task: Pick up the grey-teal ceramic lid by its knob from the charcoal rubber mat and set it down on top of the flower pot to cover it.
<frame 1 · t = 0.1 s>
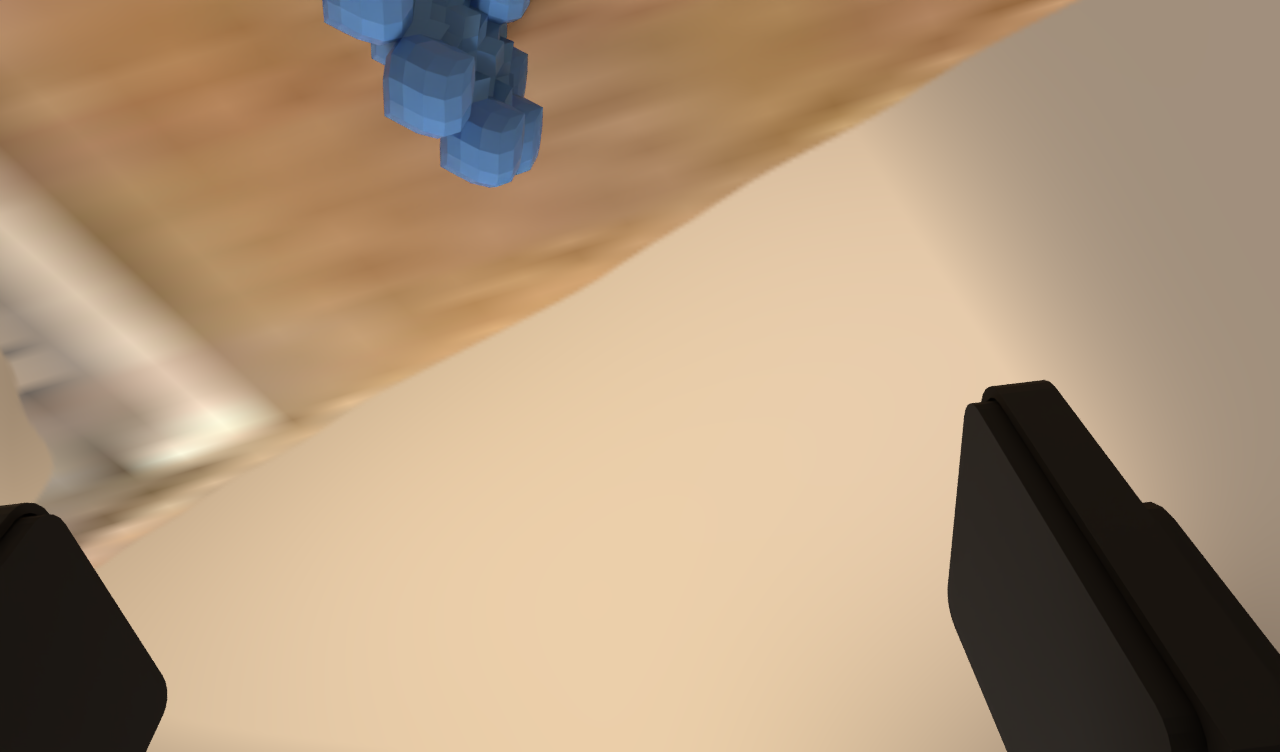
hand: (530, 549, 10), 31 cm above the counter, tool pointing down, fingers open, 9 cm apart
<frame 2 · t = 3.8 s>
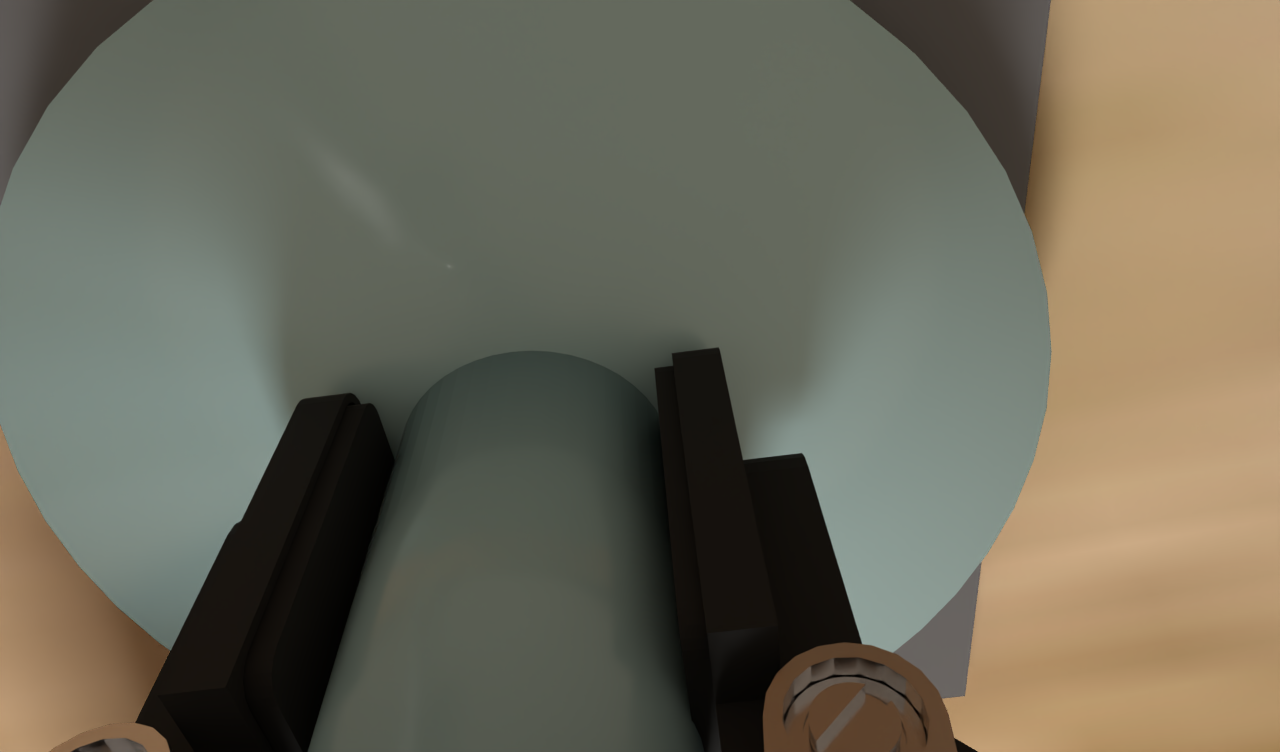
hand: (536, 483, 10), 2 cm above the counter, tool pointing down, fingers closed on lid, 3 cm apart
lid: (542, 406, 12), point 1 cm above the counter, touching gripper, mat
mat: (544, 385, 12), on the counter
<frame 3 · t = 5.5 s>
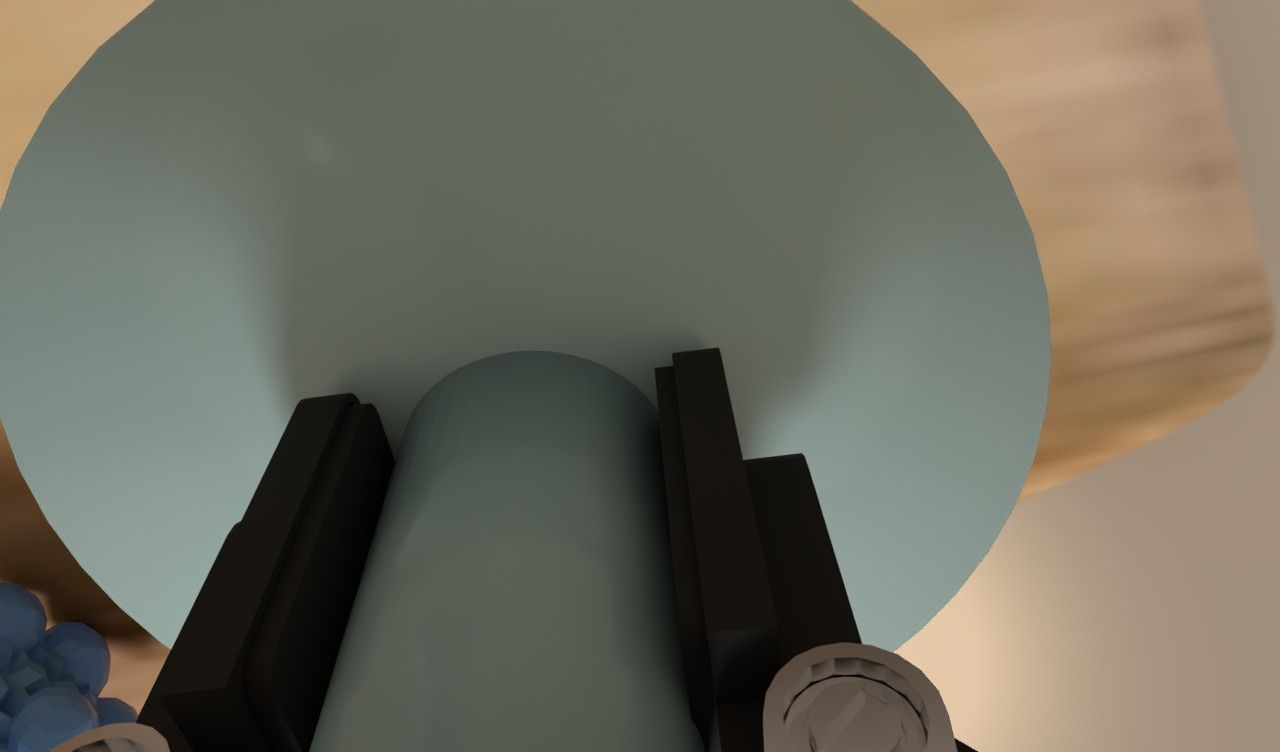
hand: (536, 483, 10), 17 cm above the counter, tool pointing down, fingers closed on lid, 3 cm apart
grapes: (103, 615, 36), on the counter
lid: (543, 406, 12), point 16 cm above the counter, touching gripper
when the fingers open (12 cm above the counter, at t = 7.3 s): lid drops 2 cm, resting on flower pot.
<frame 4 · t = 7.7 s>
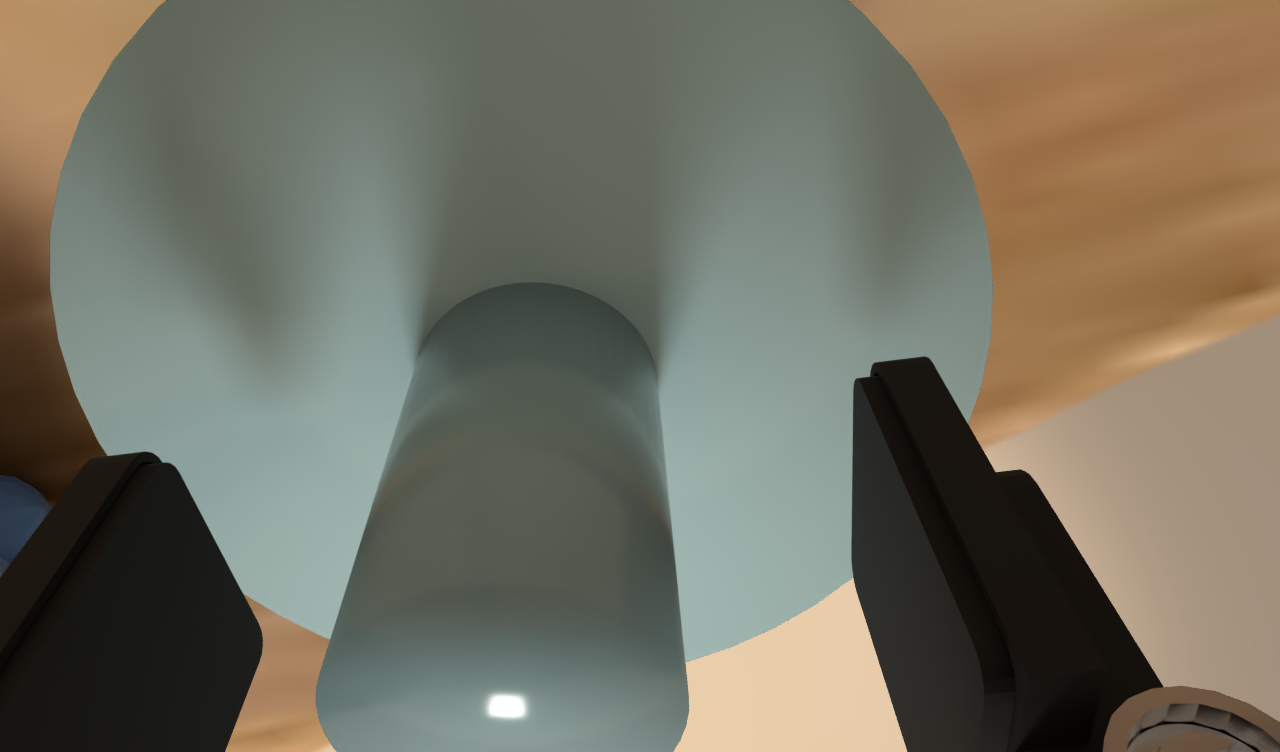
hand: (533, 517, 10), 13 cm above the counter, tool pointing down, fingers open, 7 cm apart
grapes: (47, 469, 25), on the counter
lid: (542, 342, 13), point 9 cm above the counter, touching flower pot
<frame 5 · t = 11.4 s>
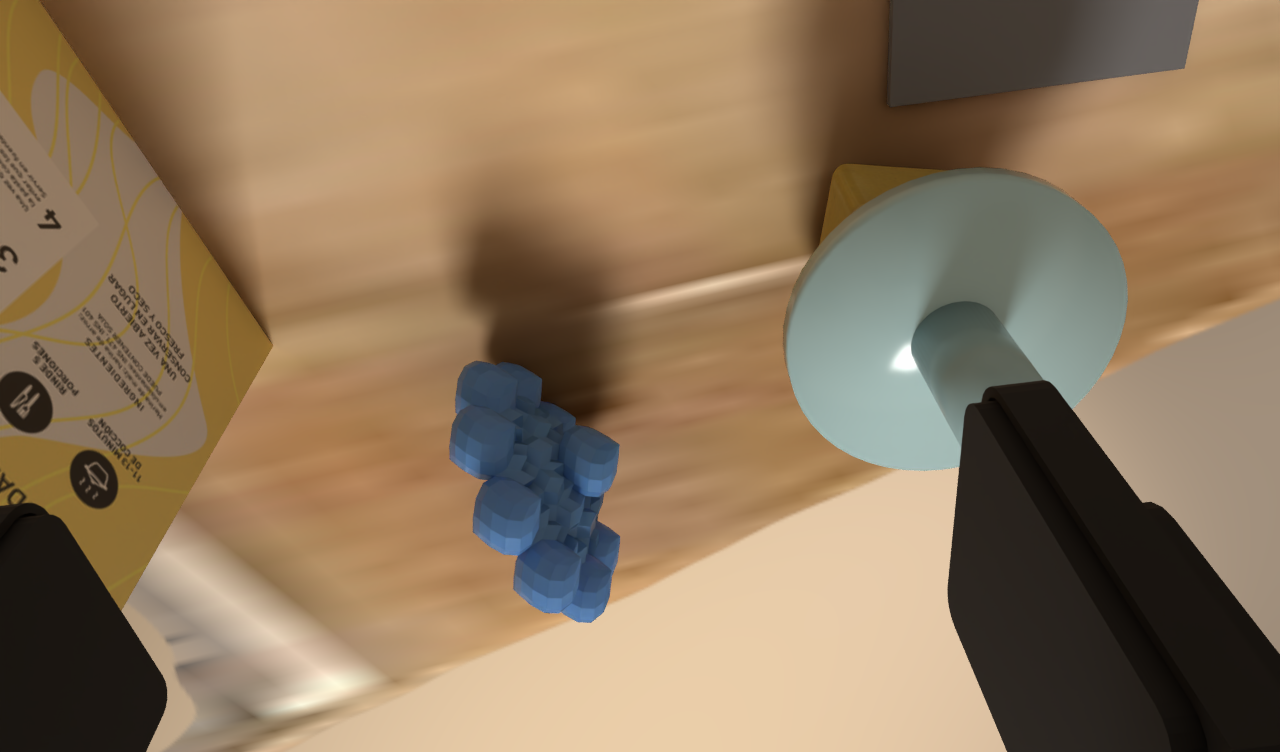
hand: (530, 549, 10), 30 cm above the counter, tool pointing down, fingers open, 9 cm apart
flower pot: (881, 221, 41), on the counter, touching lid
pasta box: (53, 211, 39), on the counter
grapes: (560, 399, 46), on the counter
lid: (944, 323, 33), point 9 cm above the counter, touching flower pot
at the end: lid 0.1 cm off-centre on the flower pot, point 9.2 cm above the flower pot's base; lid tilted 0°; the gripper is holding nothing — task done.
